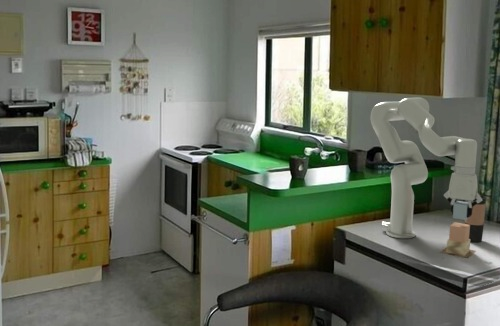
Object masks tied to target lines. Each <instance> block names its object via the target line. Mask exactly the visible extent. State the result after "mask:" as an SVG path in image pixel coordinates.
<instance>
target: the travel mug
mask: <svg viewBox="0 0 500 326" xmlns="http://www.w3.org/2000/svg"><path fill="white" fill-rule="evenodd" d="M479 195H480V194H479ZM480 197H481V198H482V201H481V202H479V203H478V204H476V205H475V206H473V209H472V215H471V216H470V217H469V218H468V219H467V220H464V224H468V225H470V232H469V239H470V243H473V244H475V243H476V244H478V243H481V242H482V241H483V234H484V226H485V214H486V202H487V197H486V196H485V195H480ZM476 200H477V198H476V199H474V200H473V202H475V201H476ZM466 202H468V201H466Z"/></svg>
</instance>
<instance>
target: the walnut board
mask: <svg viewBox="0 0 500 326" xmlns="http://www.w3.org/2000/svg"><path fill="white" fill-rule="evenodd" d="M446 250H447V246H446V247H445V248H443V249H442V250H441V251H439V253H440V254H445V255H449V256H454V257H458V258H463V259H469V258H470V257H471V256H472V255H474V254H475V253H476V250H473V249H470V250H469V252H468V253H467V254H466V255H465V256H462V255H458V254H453V253H448V252H446Z"/></svg>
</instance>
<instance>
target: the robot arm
mask: <svg viewBox="0 0 500 326" xmlns="http://www.w3.org/2000/svg"><path fill="white" fill-rule="evenodd" d="M369 118H370V124H371V127H372V129H373V131H374V133H375V134H376V136H377V138H378V141H379V144H380V146H381V148H382V151H383V153H384V156H385V158H386V160H387V162H389V163H390V164H397V165H396V166H394V167H393V168H392V169H391V172H390V183H391V202H390V204H391V205H390V219H389V222H386V221H381V227H382V228H386V231H385V234H386V235H387V236H389V237H392V238H396V239H413V238H414V237H415V236H416V232H415V231H414V230H413V219H414V205H415V201H414V200H415V194H414V190H413V188H412V186H413V185H419V184H423V183H425V181H426V180H427V179H428V176H429V171H428V168H427V165H426V163H425V160H424V157H423V156H422V154H421V153H422V152H421V151H420V148H419V147H418V145H417V144H416V142H414V141H412V140H401V138H400V135H399V133H398V131H397V130H396V128H395V127H394V126H393V125H392V124H391V123H390V121H391V122H394V121H395V122H396V121H404V120H405V121H406V122H408V124H409V125H411V127H413V128H414V129H415V130H416V131H417V133H418V138H419V141H420V143H421V144H422V146H423V147H424V148H425V149H427V150H428V151H429V152H430V153H432V154H433V155H434V156H437V157H446V156H448V157H449V156H454V155H455V156H454V157H455V158H454V159H455V160H454V161H455V162H454V165H451V166H450V170H452V171H453V172H452V173H451V175H450V180H449V185H448V190H447V191H446V192H445V193H444V194H443V197H444V198H445V199H446V200H447V202H449V203H450V207H451V208H450V209H451V210H450V213H451V215H452V216H453V207H454V203H455V202H457V201H464V202H467V201H468V205H469V206H468V208H467V218H469V217H470V216H471V215H472V209H473V206H475V205H476V204H478V203H479V202H481V201H482V198H481V197H480V194H479V193H478V178H477V177H478V176H477V174H476V162H477V150H478V142H477V141H476V139H472V138H464V137H460V136H456V135H450V136H442V137H441V136H440V135H438V134H437V133H436V132H435V131H434V130H433V129H432V128H433V126H434V124H435V120H436V119H435V117H434V115H432V114H431V113H430V104H429V101H427V99H425V98H423V97H406V98H402V99H401V100H400V101H398V100H397V101H396V100H395V101H382V102H379V103H377V104H375V105H374V106H373V107H372V109H371V112H370V117H369ZM399 163H401V164H399ZM476 198H477V200H476V201H475V202H473V200H474V199H476Z"/></svg>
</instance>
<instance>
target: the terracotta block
mask: <svg viewBox="0 0 500 326" xmlns="http://www.w3.org/2000/svg"><path fill="white" fill-rule="evenodd" d="M449 226H450V227H449V236H448V239H449V240H451V241H456V242H461V243H465V242H466V241H467V240H469V232H470V225H468V224H465V223H461V222H455V221H454V222H453V223H452V224H450V225H449Z"/></svg>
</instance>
